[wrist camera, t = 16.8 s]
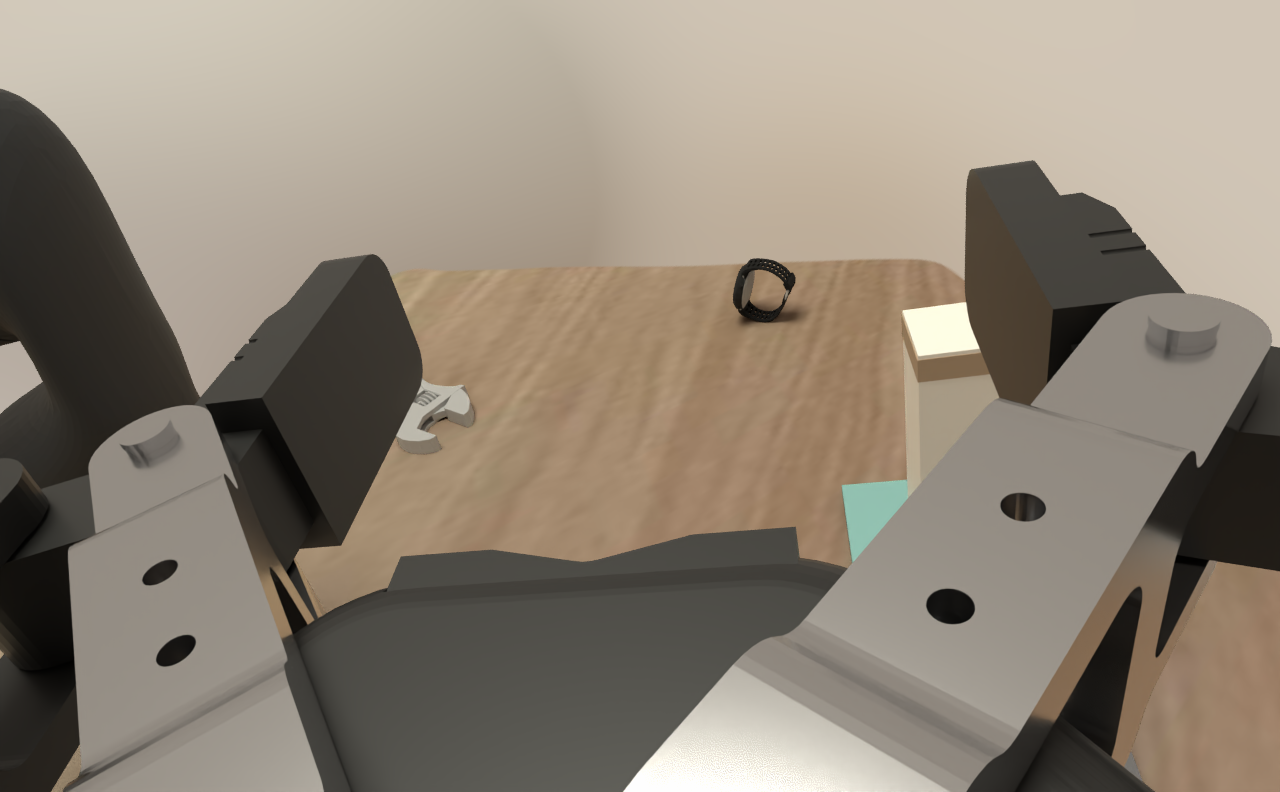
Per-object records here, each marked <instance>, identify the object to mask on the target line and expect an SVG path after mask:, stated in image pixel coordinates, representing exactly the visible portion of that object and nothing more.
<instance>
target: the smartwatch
mask: <svg viewBox="0 0 1280 792" xmlns="http://www.w3.org/2000/svg"><path fill="white" fill-rule="evenodd" d="M760 262H761V263H760ZM764 262H766V263H764ZM769 263H771V264H769ZM773 264H774V265H775V266H773ZM762 266H764V267H762ZM777 266H779V268H777ZM767 267H769V268H767ZM771 268H773V270H772V269H771ZM781 268H782V270H781ZM754 270H766V271H769V272H771V273H773V274H775V275H776V276H778V277H779V278H780V279H781V280H782V281H783V282H784V284H783V285H784V287H785V289H786V293H785V295H784V298H783V301H782V305H781V306H780V307H779V308H777V309H776V310H773V311H763V310H760V309H758V308H756V307H755V306H754V305H753V304H752V303H751V302H750V300H749V299H750V296H751V293H752V288H753V283H754V275H755V271H754ZM775 270H777V272H776V271H775ZM784 271H785V273H784ZM779 273H781V274H779ZM787 274H788V276H787ZM782 275H783V276H784V277H782ZM785 278H786V280H785ZM795 279H796V278H795V275H794V273H790V272H789V270H788V269H787V268H786V267H784V266H783V265H781V264H780V263H778V262H776V261H773V260H769V259H759V258H757V259H751V260H749V261H748V263H747V264H746V265H744V266H742V268H741V269H740V271H739V273H738V276H737V279H736V283H735V287H734V293H733V303H734V305H735V307H736V309H738V311H739V313H740V314H741V315H743V316H745V317H747V318H749V319H752V320H755V321H759V322H770V321H772V320H774V319H775V318H776V317H777V316H778V315H779V313H780V312H781V310H782V309H783V307H784V305H785V303H786V300H787V297H788V295H789V294H790V292H791V290H792V287H793V286H794V284H795ZM793 283H794V284H793ZM751 309H752V310H751ZM755 311H757V312H756V313H755ZM759 312H760V313H761V314H759ZM749 313H750V314H749ZM763 314H765V315H763ZM768 314H769V315H768ZM752 315H755V316H752ZM757 317H759V318H757ZM761 318H763V319H761ZM766 318H767V319H766Z"/></svg>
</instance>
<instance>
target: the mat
mask: <svg viewBox="0 0 1280 792" xmlns="http://www.w3.org/2000/svg"><path fill="white" fill-rule="evenodd" d="M842 493H843V501H844V508H845V515H846V522H847V529H848V536H849V544H850V551H851V558H852V563H853V562H854V561H855V560H856V558H857V557H858V556H859V555H860V554H861V553H862V551H863V550H864V549H865V548H866V547H867V546H868V544H869V543H870V542H871V541H872V540H873V539H874V537H875V536H876V535H877V534H878V533H879V531H880V530H881V529H882V528H883V527H884V526H885V524H886V523H887V522H888V521H889V520H890V519H891V517H892V516H893V515H894V514H895V513H896V512H897V510H898V509H899V508H900V507H901V506H902V505H903V503H904V502H905V501H906V500H907V499H908V487H907V480H899V481H887V482H875V483H863V484H851V485H842Z"/></svg>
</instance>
